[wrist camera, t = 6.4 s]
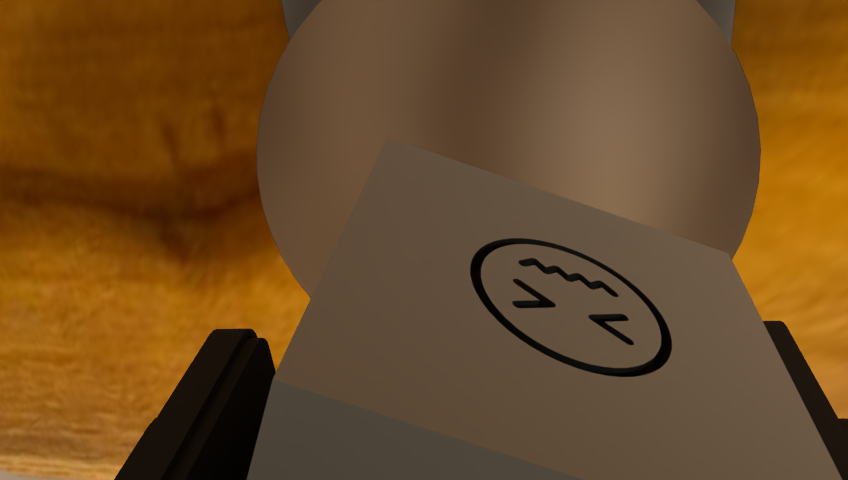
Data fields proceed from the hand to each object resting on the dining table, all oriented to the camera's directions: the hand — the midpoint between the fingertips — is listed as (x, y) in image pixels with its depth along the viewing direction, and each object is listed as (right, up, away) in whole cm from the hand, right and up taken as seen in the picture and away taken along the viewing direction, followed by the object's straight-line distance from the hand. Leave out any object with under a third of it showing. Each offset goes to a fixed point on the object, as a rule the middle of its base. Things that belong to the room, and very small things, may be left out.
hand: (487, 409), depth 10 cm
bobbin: (+2, +9, +17) cm, 19 cm away
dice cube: (0, +1, +1) cm, 1 cm away
